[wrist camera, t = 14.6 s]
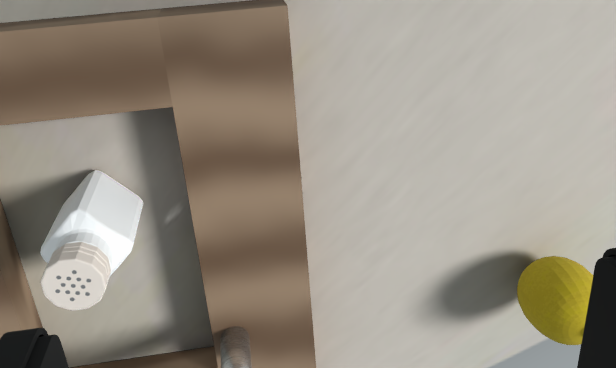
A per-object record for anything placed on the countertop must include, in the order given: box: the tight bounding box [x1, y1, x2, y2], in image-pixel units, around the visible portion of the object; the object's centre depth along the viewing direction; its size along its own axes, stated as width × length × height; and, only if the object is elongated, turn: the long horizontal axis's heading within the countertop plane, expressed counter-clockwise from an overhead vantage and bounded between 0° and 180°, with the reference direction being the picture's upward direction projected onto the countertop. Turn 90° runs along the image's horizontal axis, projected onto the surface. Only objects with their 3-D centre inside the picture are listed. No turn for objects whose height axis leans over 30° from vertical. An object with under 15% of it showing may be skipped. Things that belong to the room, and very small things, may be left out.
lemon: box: [517, 256, 593, 345], centre depth 43 cm, size 6×6×8 cm
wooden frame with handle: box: [0, 0, 316, 368], centre depth 39 cm, size 30×26×3 cm
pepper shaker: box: [40, 170, 143, 311], centre depth 34 cm, size 4×4×10 cm
